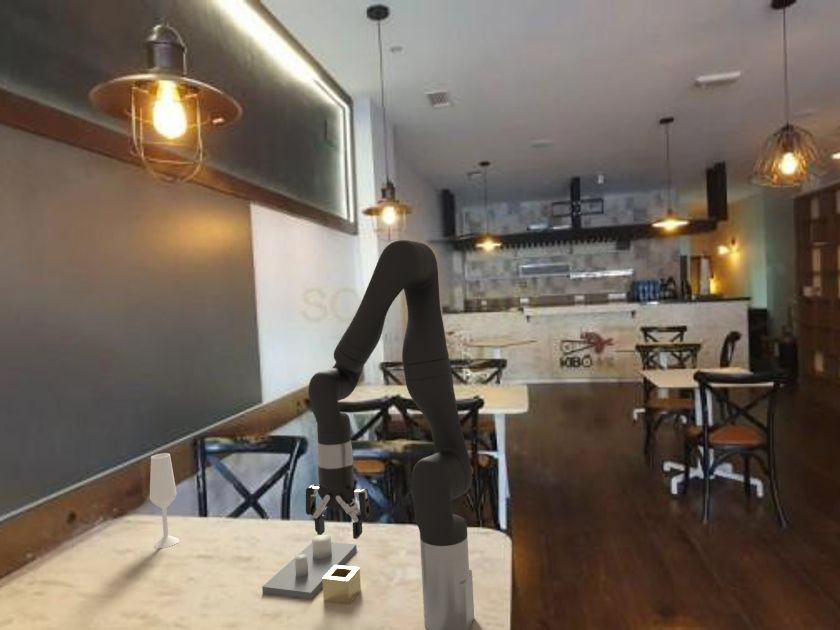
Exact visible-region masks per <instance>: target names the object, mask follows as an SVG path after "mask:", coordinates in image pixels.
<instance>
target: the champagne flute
mask: <svg viewBox="0 0 840 630" xmlns="http://www.w3.org/2000/svg"><path fill="white" fill-rule="evenodd" d="M149 474H150V481H149V500H150V502H152V504H153V505H155V506H156V507H158V508H160V509H161V517H162V530H163V531H162V532H163V536H161V537H160V538H159V539H158V540H156V541H155V542H154V543H153V545H152V546H153V548H155V547H156V548H155V549H163V548H164V549H165V548H170V547H172V545H173V546H174V544H175V545H177V544H178V543H179V542H180V540H179V539H180V538H178V537H175V536H172V535H170V534H169V525H168V523H169V522H168V511H167V510H168V509H167V508H168V507H169V506H170V505H171V504H172V503H173V502H174V500H175V499H176V497H177V494H178V492H177V488H176V482H175V477H174V476H175V475H174V469H173V464H172V458H171V454H170V453H165V452H163V453H156V454H154V455H152V456H150V473H149ZM176 543H177V544H176ZM169 546H170V547H169Z"/></svg>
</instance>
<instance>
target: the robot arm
mask: <svg viewBox="0 0 840 630" xmlns="http://www.w3.org/2000/svg"><path fill="white" fill-rule="evenodd" d="M438 267H439V266H438V261H437V258H436V255H435V253H434V251H433V249H432V248H430V247H429V246H428V245H427V244H425V243H423V242H419V241H413V240H409V239H396V240H393V241H391V242H389V243H388V244H387V245H386V246H385V247H384V249H383V250H382V252H381V254H380V256H379V258H378V260H377V263H376V265H375V267H374V270H373V272H372V275H371V278H370V280H369V283H368V285H367V288H366V289H365V292H364V294H363V298H362V299H361V302H360V304H359V306H358V307H357V310H356V312H355V315H354V316H353V318H352V320H351V322H350V323H349V325H348V327H347V328H346V329H345V332H344V333H343V335H342V336H341V338H340V339H339V342H338V343H337V345H336V347H335V349H334V351H333V359H334V361H335V363H334V365H333V366H332V367H331V368H330V369H326V370H325V369H324V370H322V371H317V372H316V373H315V374H314V375H313V376H311V378H310V381H309V383H308V398H309V403H310V406H311V408H312V413H313V416H314V418H315V421H316V428H317V429H316V432H317V455H316V457H317V473H318V475H317V477H318V479H317V480H318V485H319V486H316V484H315V483H313V484H311V485H309V486H308V487H307V488H306V489H305V514H306V515H308V516H309V515H311V516H312V517H313V519H314V529H315V530H314V531H315V532H316V534H317V536H318V535H324V533H325V531H326V527H325V525H326V524H325V515H324V513H325V511H326V510H327V508H328V509H329V510H334V509H335V510H339V511H345V513H346V514H347V515H349V516H350V518H351V519H352V521H353V522H352V538H353V539H355V540H358V539H359V538H360V537H361V535H362V534H363V521H365V520H366V519H367V518H369V516H370V515H371V506H370V496H369V489H367V488H366V487H365V488H363V489H356V488H355V485H354V482H355V475H354V455H353V454H354V453H353V452H354V451H353V444H352V437H351V436H352V435H351V421H350V417H349V415H348V414H347V413H346V412H343V411H340V406H339V401H342V400H345V399H346V398H348V397H349V396H350V395H352V393H353V392H354V390H355V389H356V387H357V385H358V383H359V380H360V378H361V376H362V372H363V368H364V366H365V364H366V363H367V361H368V360H369V359H370V357H371V355H372V354H373V352H374V350H375V349H376V348H377V345H378V344H379V342H380V340H381V336H382V334H383V331H384V325H385V322H386V317H387V314H388V312H389V310H390V307H391V306H392V304H393V302H395V300H396V298H397V297H398V296H399V295H400V293H401V292H402V291H404V296H405V302H406V307H407V308H406V309H407V322H406V329H405V333H404V338H403V344H402V353H401V354H402V355H401V356H402V357H401V358H402V365H403V366H402V367H403V373H404V379H405V384H406V389H407V391H408V393H409V396H410V398H411V399H412V401H413V402H414V404H415V405H416V407H417V408H418V410H419V412H420V413H422V415H423V417H424V418H425V420H426V422H427V425H428V426H429V429H430V432H431V437H432V444H433V449H434V451H433V452H434V453H433V454H432V455H429V456H428V455H427V456H425V457H423V458H421V459H420V460H418V461H417V462H416V463H415V465H414V466H413V469H412V472H411V493H412V500H413V511H414V512H413V513H414V517H415V519H414V520H415V522H416V525H417V528H418V531H419V541H420V542H419V544H420V561H421V566H420V567H421V581H422V582H421V583H422V600H423V602H422V603H423V604H422V605H423V618H424V627H425V628H426V630H470V628H471V626H472V624H473V621H474V618H475V604H474V586H473V585H474V583H473V581H474V580H473V571H472V569H470V562H469V561H470V560H469V541H468V538H469V537H468V523H467V522H466V519H465V518H464V517H462V516H460V515H458V514H455V513H453V507H452V501H453V500H455V499H457V498H458V497H461V496H462V495H464V494H465V493H467V492H468V491H469V490H470V488H471V487H472V486H471V485H472V481H473V470H472V469H473V468H472V464H471V460H470V459H471V458H470V455H469V452H468V448H467V444H466V440H465V436H464V433H463V430H462V425H461V421H460V415H459V410H458V404H457V399H456V394H455V389H454V382H453V373H452V368H451V361H450V354H449V352H448V351H449V350H448V346H447V341H446V340H447V339H446V333H445V327H444V321H443V316H442V309H441V299H440V285H439V280H440V279H439V268H438ZM317 496H319V498H321V502H319V505H318V506H317ZM355 497H356V499H357V501H358V502H359V505H358V503H357V502H356V500H355V499H354V498H355Z"/></svg>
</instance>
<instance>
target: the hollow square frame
mask: <svg viewBox="0 0 840 630" xmlns="http://www.w3.org/2000/svg"><path fill="white" fill-rule="evenodd" d="M322 581H323V587H322V597H323V602H326V603H327V602H329V603H336V604H344V605H350V604H351V603H352V601H354V600H355V598H356V597H357V595H358V594H359V593H360V591H362V587H361V568H360V567H358V566H348V565H343V566H340V565H334V566H333V567H332V568H331V570H330V571H329V572H328V573H327V574H326V575H325V576H324V577H323V578H322Z"/></svg>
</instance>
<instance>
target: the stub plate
mask: <svg viewBox="0 0 840 630" xmlns="http://www.w3.org/2000/svg"><path fill="white" fill-rule="evenodd" d="M357 550H358V549H357V544H355V543H345V542H343V543H342V542H334V541H333V542H332V536H331V535H329V534H322V535H318V534H317V535H315V536H314V537H312V539H311V543H309V545H308V546H306V548H304V549H303V550H301V552H300V553H299V554H297V555H296V556H295V557H294V558H293V559H292V560H291V561H290V562H288V563H287V564H286V565H285V566H284V567H283V568H281V569H280V570H279V571H278V572H277V573H275V575H273V576H272V577H271V578H270V579H269V580H268V581H267V582H266V583H265V584H263V585H262V587H261V588H262V594H266V595H273V596H282V597H289V598H297V599H306V600H312V599H313V598H314V597H315V596H316V594H317V593H319V592H320V590H321V589H323V581H322V578H323V577H324V576H325V575H326V574H327V573H328V572H329V571H330V570H331V568H332V567H333V566H334V565H340V566H344V565H345V564H346V562H347V561H348V560H349V559H350V558H351V557H352V556H353V555H354V554H355V553H356V552H357Z"/></svg>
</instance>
